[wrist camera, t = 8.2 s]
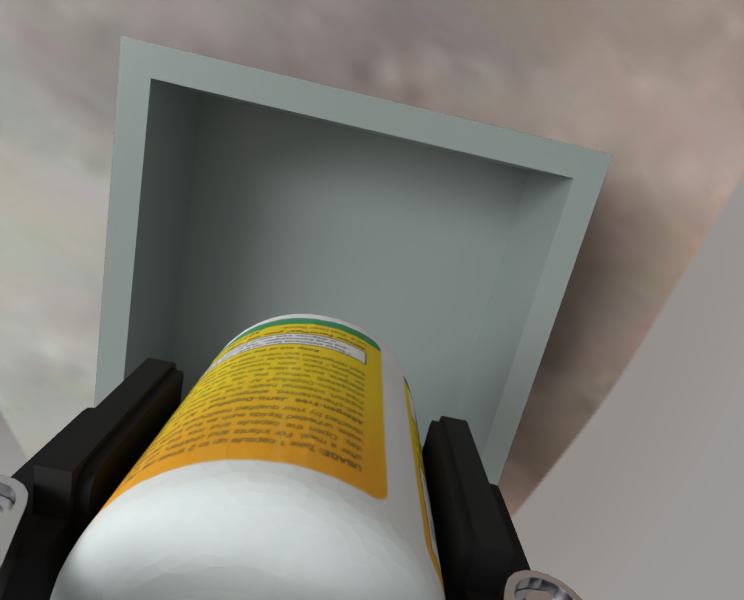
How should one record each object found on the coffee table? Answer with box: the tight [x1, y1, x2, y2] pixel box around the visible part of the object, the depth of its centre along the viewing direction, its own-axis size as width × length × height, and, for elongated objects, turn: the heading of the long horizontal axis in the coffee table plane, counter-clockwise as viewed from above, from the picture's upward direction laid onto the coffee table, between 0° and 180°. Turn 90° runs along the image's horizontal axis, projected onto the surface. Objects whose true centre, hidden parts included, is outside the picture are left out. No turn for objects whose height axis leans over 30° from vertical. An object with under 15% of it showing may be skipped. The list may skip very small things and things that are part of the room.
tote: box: [94, 36, 613, 486], centre depth 21 cm, size 16×16×6 cm
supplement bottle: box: [50, 314, 445, 600], centre depth 9 cm, size 5×5×10 cm
